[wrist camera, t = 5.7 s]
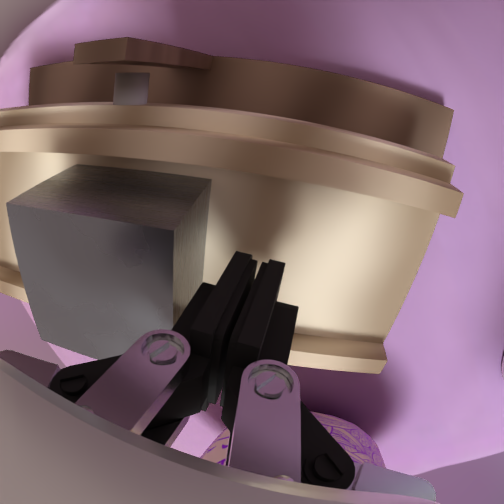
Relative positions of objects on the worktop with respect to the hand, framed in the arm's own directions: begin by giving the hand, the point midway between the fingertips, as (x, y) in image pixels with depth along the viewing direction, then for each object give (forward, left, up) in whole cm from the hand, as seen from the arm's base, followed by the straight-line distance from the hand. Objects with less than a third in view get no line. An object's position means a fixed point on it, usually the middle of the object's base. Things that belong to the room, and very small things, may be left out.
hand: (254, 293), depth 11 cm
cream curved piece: (+7, 0, -2) cm, 7 cm away
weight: (+6, 0, -2) cm, 6 cm away
